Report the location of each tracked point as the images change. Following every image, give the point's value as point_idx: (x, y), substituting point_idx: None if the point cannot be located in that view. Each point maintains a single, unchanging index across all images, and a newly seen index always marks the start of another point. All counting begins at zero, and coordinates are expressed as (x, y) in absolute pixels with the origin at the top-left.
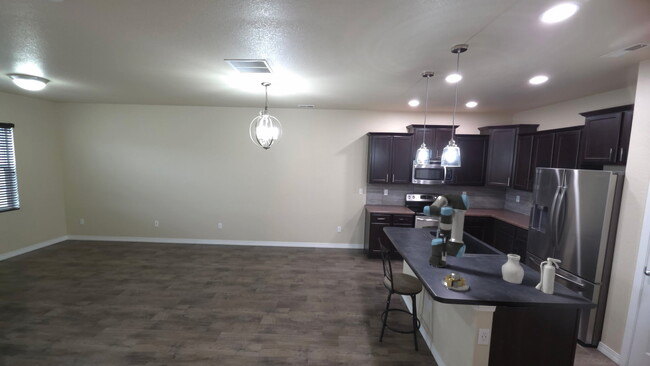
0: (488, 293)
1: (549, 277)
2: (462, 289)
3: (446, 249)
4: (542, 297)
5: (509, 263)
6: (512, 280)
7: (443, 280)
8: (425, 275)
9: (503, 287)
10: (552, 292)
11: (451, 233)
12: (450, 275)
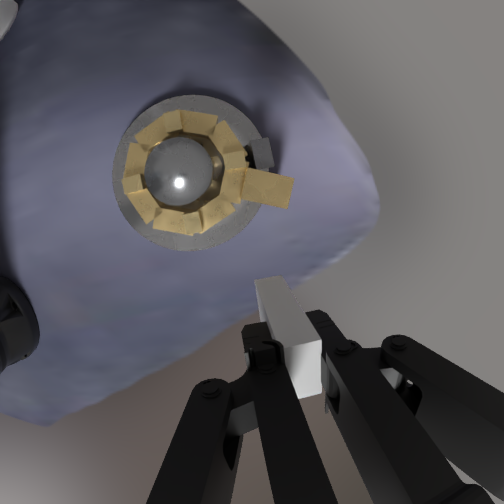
0: (178, 21)
1: None
2: (247, 119)
3: (219, 382)
4: None
5: None
6: (11, 10)
7: (201, 239)
8: (172, 338)
9: (70, 8)
10: None
11: None
12: (150, 212)
